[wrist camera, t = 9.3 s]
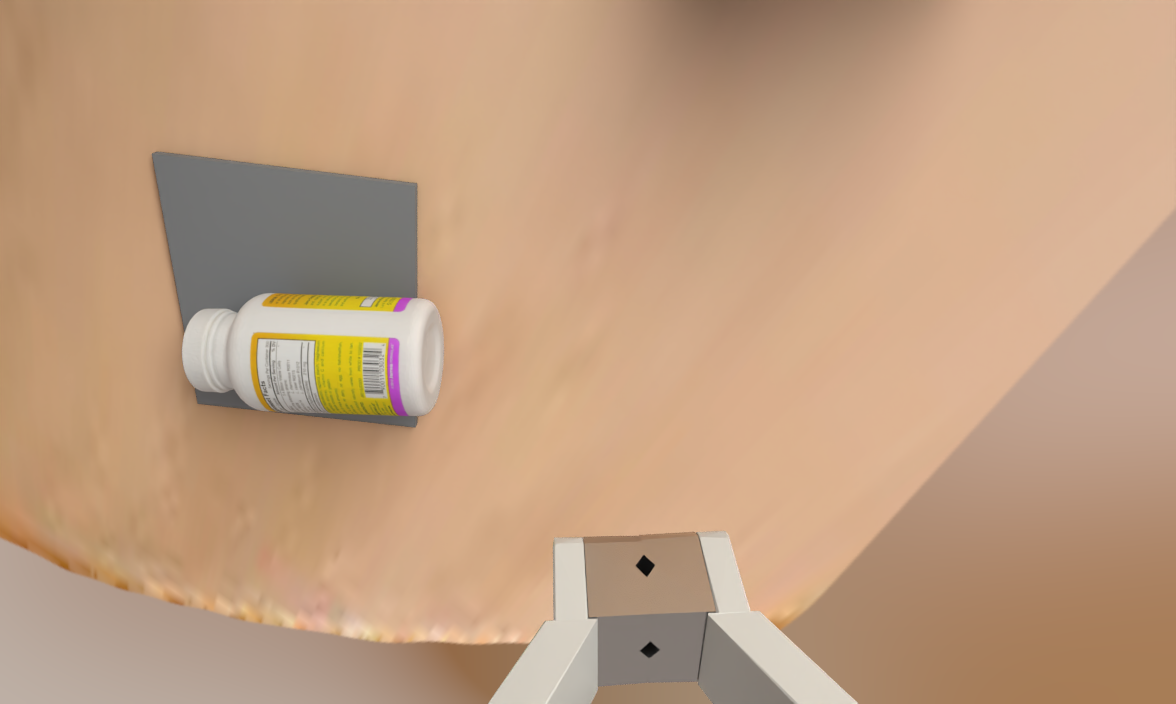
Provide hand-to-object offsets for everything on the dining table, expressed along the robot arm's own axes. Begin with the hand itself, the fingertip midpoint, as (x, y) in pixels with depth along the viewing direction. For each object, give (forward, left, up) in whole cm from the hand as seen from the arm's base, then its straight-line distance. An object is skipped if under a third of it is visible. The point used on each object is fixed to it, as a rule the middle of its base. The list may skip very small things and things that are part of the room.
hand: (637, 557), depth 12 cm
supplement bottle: (+6, -12, -25) cm, 28 cm away
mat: (+2, -20, -29) cm, 35 cm away
